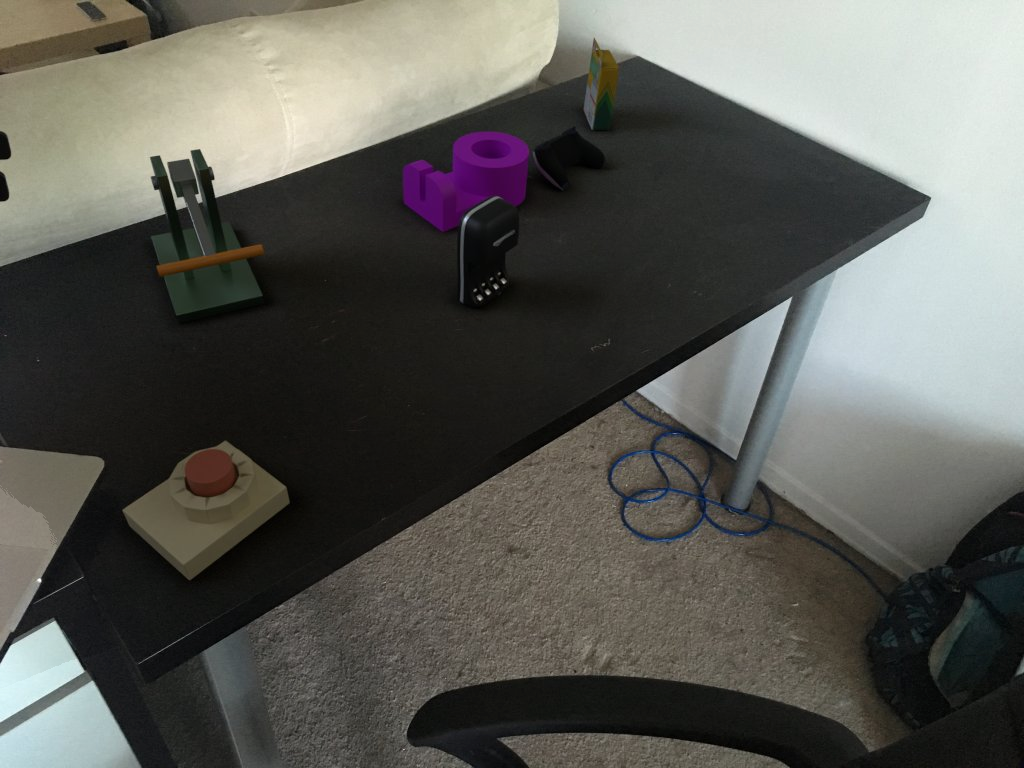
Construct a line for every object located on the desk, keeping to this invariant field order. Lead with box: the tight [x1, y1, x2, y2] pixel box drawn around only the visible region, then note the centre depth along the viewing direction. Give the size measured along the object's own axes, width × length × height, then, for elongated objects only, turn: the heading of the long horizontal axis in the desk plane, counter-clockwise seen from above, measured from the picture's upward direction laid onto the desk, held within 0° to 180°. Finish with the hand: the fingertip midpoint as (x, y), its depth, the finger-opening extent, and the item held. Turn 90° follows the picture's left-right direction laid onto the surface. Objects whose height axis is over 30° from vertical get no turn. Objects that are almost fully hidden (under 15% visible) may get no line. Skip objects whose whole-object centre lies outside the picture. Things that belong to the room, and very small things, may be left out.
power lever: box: [155, 158, 265, 278], centre depth 79 cm, size 13×10×2 cm
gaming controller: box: [532, 125, 606, 191], centre depth 111 cm, size 11×4×7 cm
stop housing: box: [122, 440, 291, 581], centre depth 64 cm, size 10×8×4 cm
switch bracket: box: [149, 148, 265, 325], centre depth 85 cm, size 16×9×14 cm, turn 27°
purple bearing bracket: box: [402, 131, 530, 233], centre depth 103 cm, size 16×10×6 cm, turn 131°
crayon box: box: [583, 37, 620, 131], centre depth 121 cm, size 7×3×12 cm, turn 7°
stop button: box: [185, 448, 236, 497], centre depth 63 cm, size 4×4×2 cm
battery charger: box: [456, 196, 520, 309], centre depth 86 cm, size 7×4×11 cm, turn 142°
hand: (8, 164), depth 63 cm, fingers open, 8 cm apart
